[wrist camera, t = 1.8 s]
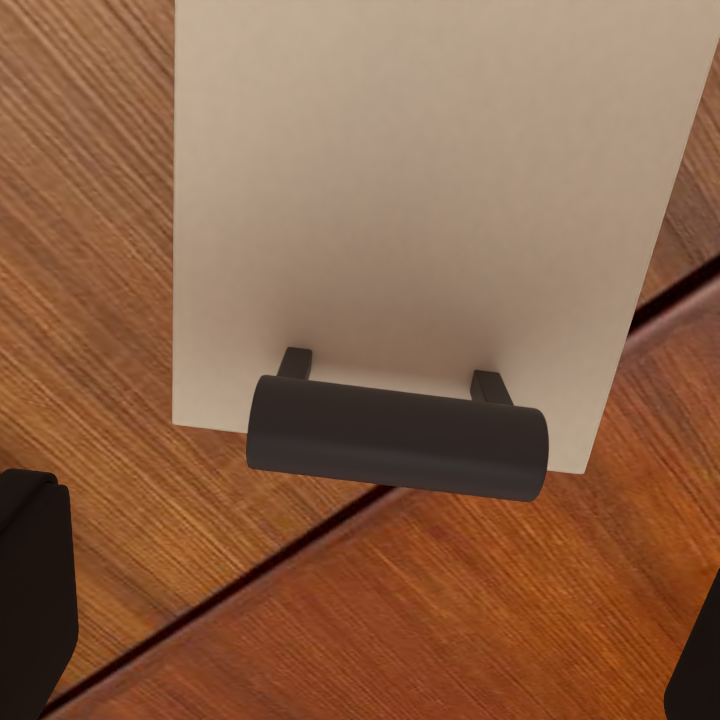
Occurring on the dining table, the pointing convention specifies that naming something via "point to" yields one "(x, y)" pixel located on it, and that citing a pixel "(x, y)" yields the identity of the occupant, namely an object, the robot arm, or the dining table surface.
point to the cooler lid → (420, 225)
